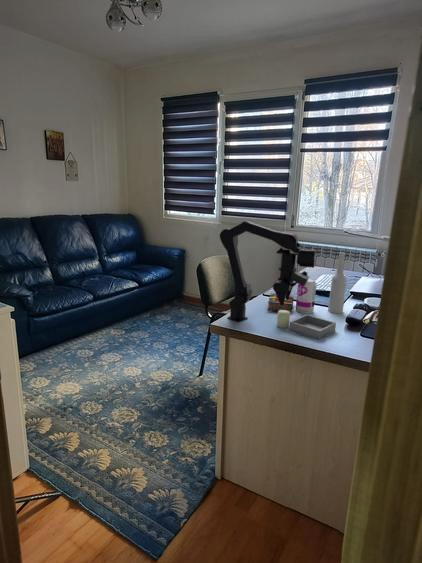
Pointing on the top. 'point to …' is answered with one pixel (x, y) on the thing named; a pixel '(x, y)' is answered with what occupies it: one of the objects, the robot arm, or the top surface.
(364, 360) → the top surface
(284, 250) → the robot arm
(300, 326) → the bin
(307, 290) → the supplement can
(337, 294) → the bottle
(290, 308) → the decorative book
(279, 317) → the cream yellow cylinder
